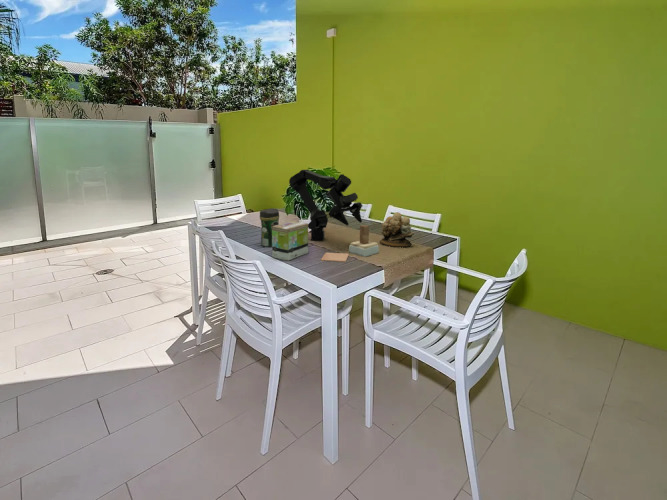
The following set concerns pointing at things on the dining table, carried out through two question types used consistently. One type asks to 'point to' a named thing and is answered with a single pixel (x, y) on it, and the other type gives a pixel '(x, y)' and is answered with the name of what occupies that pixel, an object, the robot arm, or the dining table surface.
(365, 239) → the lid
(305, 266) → the dining table surface
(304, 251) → the tea box
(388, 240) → the brown lumpy sculpture
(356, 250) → the pale green square dish
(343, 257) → the tile
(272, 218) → the coffee jar
